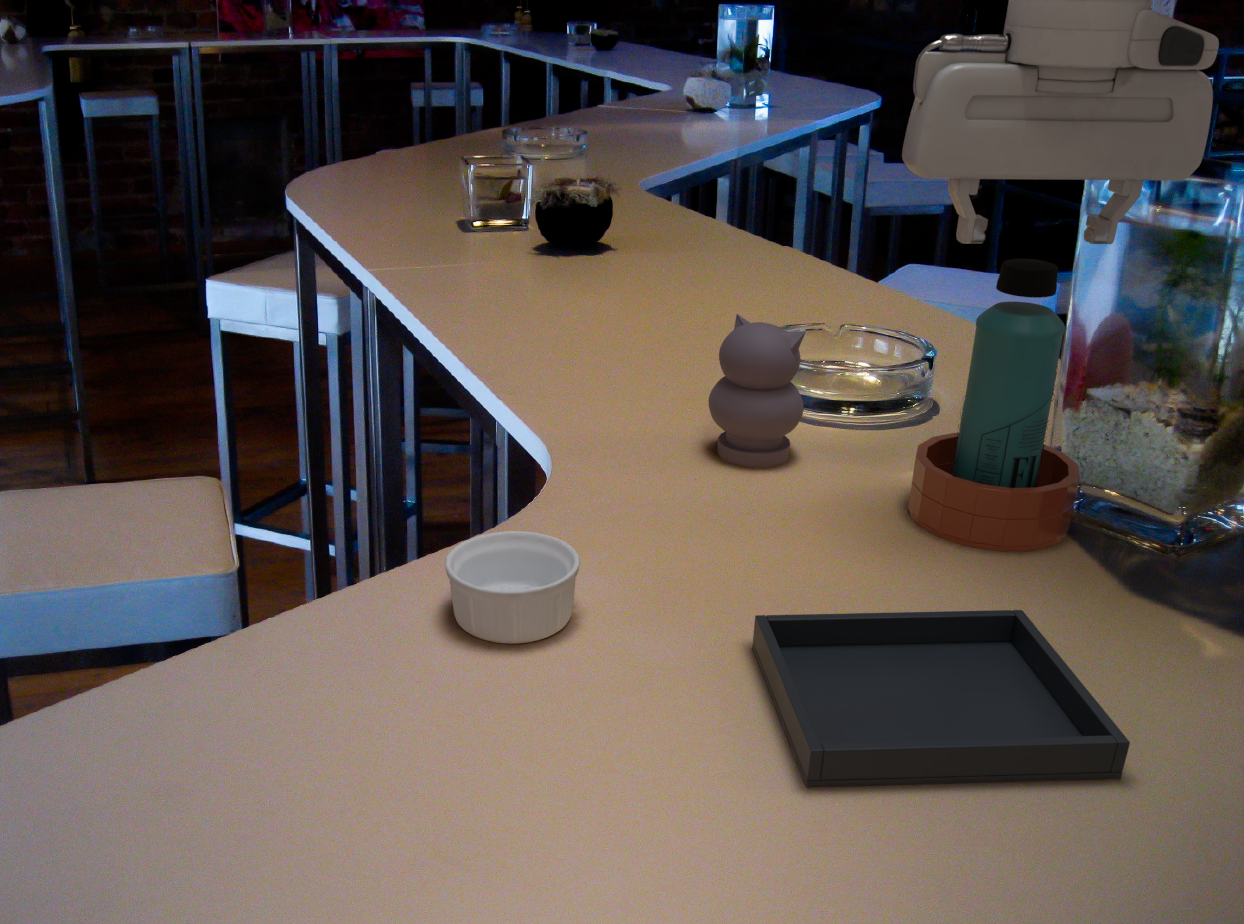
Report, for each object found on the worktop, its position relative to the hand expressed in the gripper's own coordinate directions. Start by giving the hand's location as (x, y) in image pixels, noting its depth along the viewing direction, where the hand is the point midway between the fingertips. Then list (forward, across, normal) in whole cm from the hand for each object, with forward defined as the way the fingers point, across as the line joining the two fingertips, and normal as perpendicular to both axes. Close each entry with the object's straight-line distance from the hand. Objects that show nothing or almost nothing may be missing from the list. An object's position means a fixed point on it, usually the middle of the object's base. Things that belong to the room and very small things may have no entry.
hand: (1033, 242), depth 87 cm
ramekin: (+22, -38, -14) cm, 46 cm away
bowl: (+22, 0, 0) cm, 22 cm away
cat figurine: (+22, -16, +14) cm, 31 cm away
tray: (+22, -14, -26) cm, 37 cm away
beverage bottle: (+22, 0, 0) cm, 22 cm away
